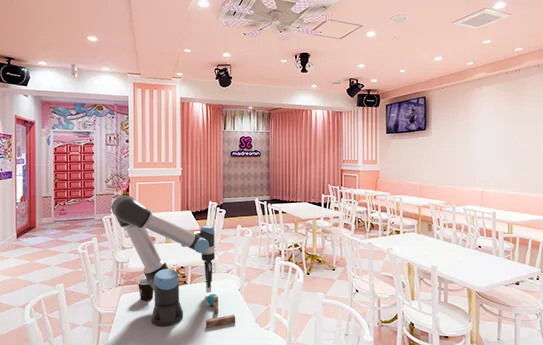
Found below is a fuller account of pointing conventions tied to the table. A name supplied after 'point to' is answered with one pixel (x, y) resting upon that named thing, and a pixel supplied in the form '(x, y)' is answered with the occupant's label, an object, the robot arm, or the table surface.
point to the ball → (211, 299)
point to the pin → (215, 304)
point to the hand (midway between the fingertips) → (208, 291)
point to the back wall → (220, 321)
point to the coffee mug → (145, 290)
